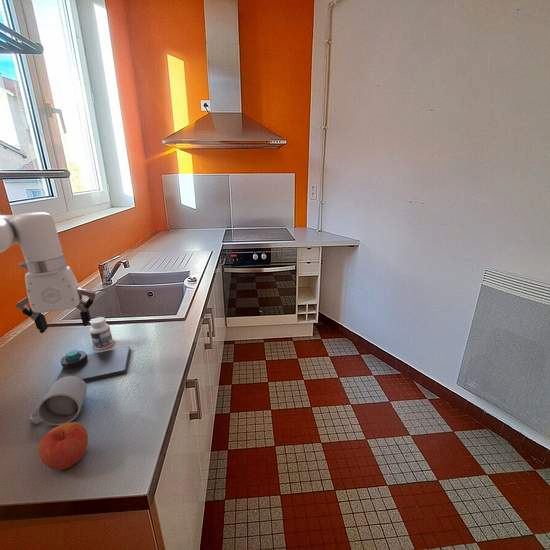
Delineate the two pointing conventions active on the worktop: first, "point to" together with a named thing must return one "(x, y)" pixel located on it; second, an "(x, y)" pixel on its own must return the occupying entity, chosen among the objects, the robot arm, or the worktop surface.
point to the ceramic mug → (61, 402)
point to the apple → (63, 445)
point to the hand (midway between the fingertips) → (65, 327)
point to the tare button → (72, 355)
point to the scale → (96, 365)
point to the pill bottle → (100, 333)
